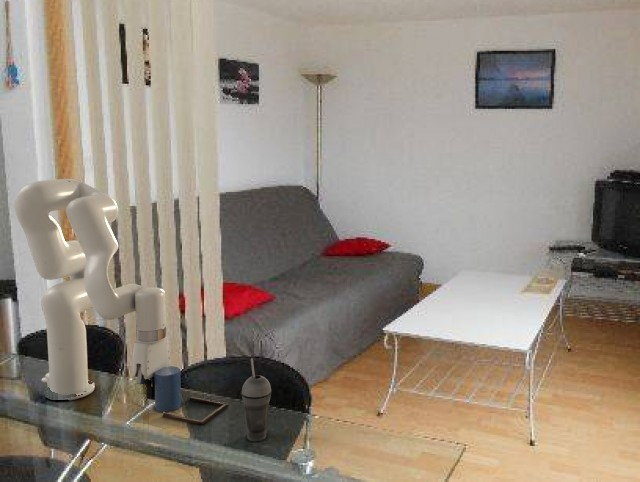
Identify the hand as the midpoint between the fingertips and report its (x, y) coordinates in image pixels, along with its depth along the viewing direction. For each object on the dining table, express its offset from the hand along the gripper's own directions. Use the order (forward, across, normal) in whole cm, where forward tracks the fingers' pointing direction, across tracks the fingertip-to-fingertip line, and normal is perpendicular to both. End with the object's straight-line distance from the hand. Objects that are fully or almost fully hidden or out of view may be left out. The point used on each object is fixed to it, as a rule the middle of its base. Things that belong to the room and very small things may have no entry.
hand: (153, 398), depth 165 cm
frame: (+1, 0, +14) cm, 14 cm away
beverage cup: (+2, +6, +36) cm, 36 cm away
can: (+1, 0, +5) cm, 5 cm away
